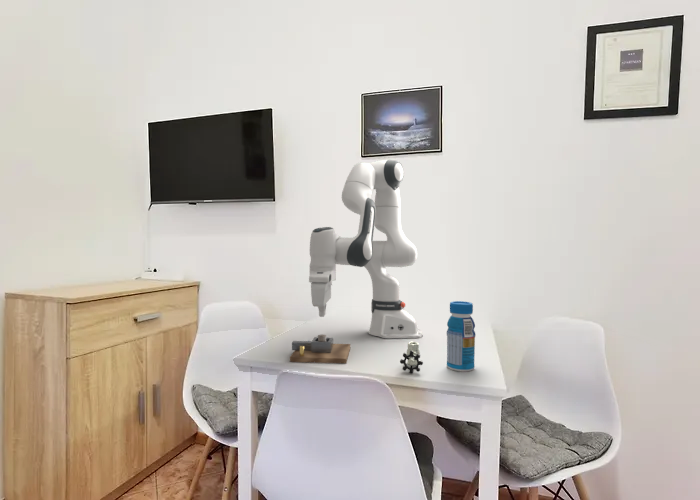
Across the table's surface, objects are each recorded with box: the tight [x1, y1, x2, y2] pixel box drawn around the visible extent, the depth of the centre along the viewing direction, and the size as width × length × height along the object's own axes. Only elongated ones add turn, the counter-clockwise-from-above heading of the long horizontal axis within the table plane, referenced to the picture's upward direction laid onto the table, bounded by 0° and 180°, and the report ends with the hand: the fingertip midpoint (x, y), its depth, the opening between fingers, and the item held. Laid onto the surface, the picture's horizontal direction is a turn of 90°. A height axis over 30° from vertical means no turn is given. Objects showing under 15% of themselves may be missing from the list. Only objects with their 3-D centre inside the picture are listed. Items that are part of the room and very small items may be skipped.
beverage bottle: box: [446, 300, 476, 373], centre depth 119 cm, size 8×8×20 cm
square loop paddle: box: [291, 336, 334, 353], centre depth 133 cm, size 13×6×4 cm, turn 86°
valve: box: [399, 341, 424, 375], centre depth 120 cm, size 7×7×12 cm
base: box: [289, 334, 351, 364], centre depth 133 cm, size 18×18×6 cm
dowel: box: [300, 346, 304, 356], centre depth 126 cm, size 1×1×4 cm
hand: (322, 316), depth 133 cm, fingers closed
